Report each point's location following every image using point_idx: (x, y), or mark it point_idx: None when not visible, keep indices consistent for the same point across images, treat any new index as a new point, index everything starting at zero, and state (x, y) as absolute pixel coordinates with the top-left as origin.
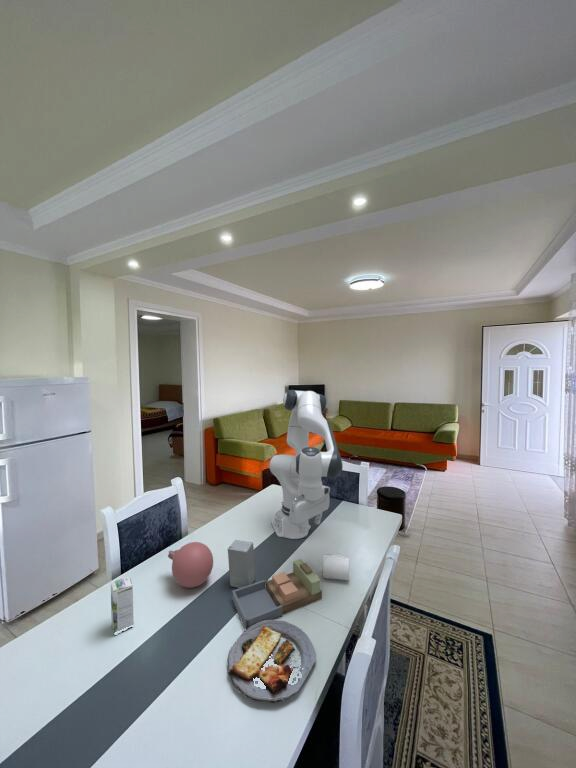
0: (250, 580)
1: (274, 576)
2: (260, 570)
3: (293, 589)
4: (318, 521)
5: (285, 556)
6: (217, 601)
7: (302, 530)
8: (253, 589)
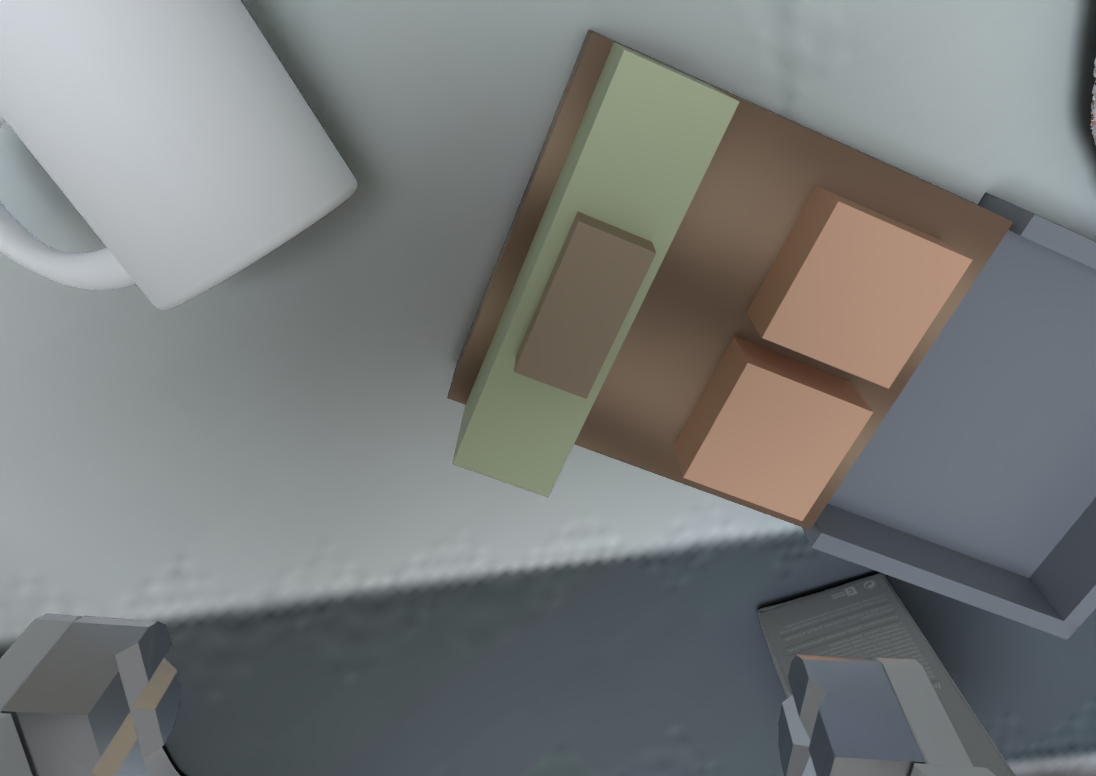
0: (871, 621)
1: (795, 502)
2: (640, 648)
3: (856, 246)
4: (93, 682)
5: (360, 620)
6: (1084, 644)
7: (955, 731)
8: (908, 545)
